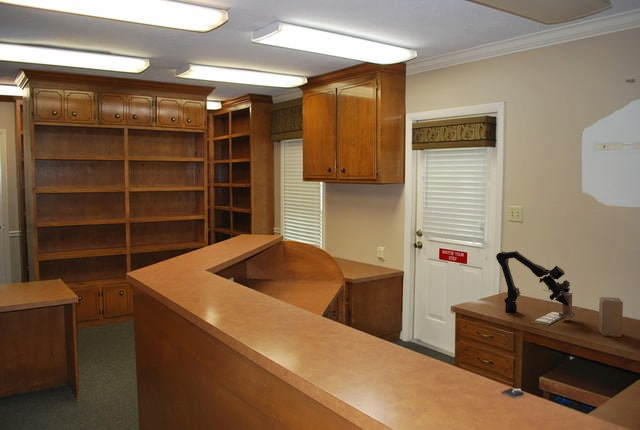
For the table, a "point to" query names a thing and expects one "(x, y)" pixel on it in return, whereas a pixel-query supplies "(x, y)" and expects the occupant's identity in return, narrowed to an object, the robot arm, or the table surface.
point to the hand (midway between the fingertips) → (569, 304)
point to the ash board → (549, 318)
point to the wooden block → (610, 316)
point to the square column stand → (567, 309)
